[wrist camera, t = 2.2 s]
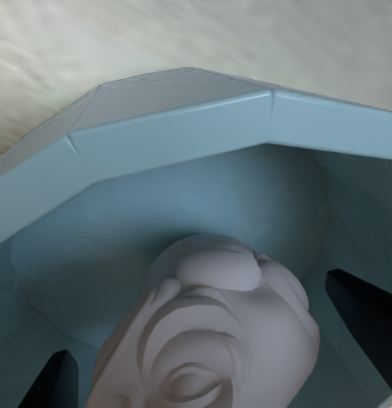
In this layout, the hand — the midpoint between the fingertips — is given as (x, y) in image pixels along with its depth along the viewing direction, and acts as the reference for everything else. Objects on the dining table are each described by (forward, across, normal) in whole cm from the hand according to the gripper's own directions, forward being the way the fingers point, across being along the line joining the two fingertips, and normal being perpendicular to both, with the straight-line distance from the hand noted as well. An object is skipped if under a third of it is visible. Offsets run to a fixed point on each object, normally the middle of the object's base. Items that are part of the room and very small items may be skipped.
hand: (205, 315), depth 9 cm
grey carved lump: (+3, 0, 0) cm, 3 cm away
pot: (+3, 0, 0) cm, 3 cm away
